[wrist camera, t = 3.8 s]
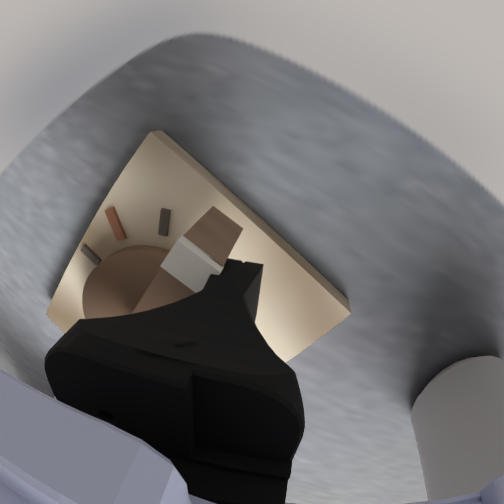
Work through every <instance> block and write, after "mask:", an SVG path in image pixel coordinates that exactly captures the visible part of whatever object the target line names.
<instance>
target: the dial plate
mask: <svg viewBox="0 0 504 504" xmlns="http://www.w3.org/2000/svg"><path fill="white" fill-rule="evenodd" d="M212 206H214V207H216V208H217V209H218V210H220V211H221V212H222V213H224V214H225V215H226V216H228V217H229V218H230V219H231V220H233V221H234V222H235V223H237V224H238V225H239V226H241V227H242V228H243V230H242V232H241V234H240V236H239V238H238V240H237V241H236V243H235V245H234V247H233V249H232V251H231V253H230V255H229V257H228V258H229V259H235V260H241V261H242V262H243V263H244V262H245V261H247V262H253V263H259V264H264V266H263V273H262V280H261V287H260V294H259V302H258V309H257V315H256V320H255V324H256V326H257V328H258V330H259V331H260V333H261V334H262V336H263V337H264V339H265V340H266V342H267V343H268V345H269V346H270V348H271V349H272V350H273V351H274V352H275V354H276V355H277V356H278V357H280V358H281V359H282V360H283V361H284V362H285V363H286V362H287V361H288V360H290V359H291V358H293V357H294V356H296V355H297V354H298V353H300V352H301V351H303V350H304V349H305V348H307V347H308V346H310V345H311V344H312V343H314V342H315V341H316V340H318V339H319V338H320V337H322V336H323V335H324V334H326V333H327V332H328V331H330V330H331V329H332V328H334V327H335V326H336V325H338V324H339V323H340V322H341V321H343V320H344V319H345V318H347V317H348V316H349V315H350V314H351V309H350V305H349V300H348V299H347V298H346V297H344V296H343V295H342V294H341V293H340V292H339V291H338V290H337V289H336V288H335V287H334V286H333V285H332V284H331V283H330V282H329V281H328V280H327V279H326V278H325V277H323V276H322V275H321V274H320V273H319V272H318V271H317V270H316V269H315V268H314V267H313V266H312V265H311V264H310V263H309V262H308V261H307V260H305V259H304V258H303V257H302V256H301V255H300V254H299V253H298V252H297V251H296V250H295V249H294V248H293V247H292V246H290V245H289V244H288V243H287V242H286V241H285V240H284V239H283V238H282V237H281V236H280V235H279V234H277V233H276V232H275V231H274V230H273V229H272V228H271V227H270V226H269V225H268V224H267V223H266V222H264V221H263V220H262V219H261V218H260V217H259V216H258V215H257V214H256V213H255V212H253V211H252V210H251V209H250V208H249V207H248V206H247V205H246V204H245V203H244V202H242V201H241V200H240V199H239V198H238V197H237V196H236V195H235V194H234V193H232V192H231V191H230V190H229V189H228V188H227V187H226V186H225V185H223V184H222V183H221V182H220V181H219V180H218V179H217V178H216V177H214V176H213V175H212V174H211V173H210V172H209V171H208V170H207V169H205V168H204V167H203V166H202V165H201V164H200V163H199V162H197V161H196V160H195V159H194V158H193V157H192V156H191V155H189V154H188V153H187V152H186V151H185V150H184V149H183V148H181V147H180V146H179V145H178V144H177V143H176V142H175V141H173V140H172V139H171V138H170V137H169V136H168V135H166V134H165V133H164V132H163V131H162V130H160V131H150V132H149V134H148V135H147V137H146V138H145V139H144V141H143V142H142V144H141V145H140V146H139V148H138V149H137V151H136V152H135V154H134V155H133V157H132V158H131V159H130V161H129V162H128V164H127V165H126V167H125V168H124V170H123V171H122V173H121V175H120V176H119V178H118V179H117V181H116V182H115V184H114V185H113V187H112V189H111V190H110V192H109V193H108V195H107V197H106V198H105V200H104V202H103V203H102V205H101V207H100V208H99V210H98V212H97V213H96V215H95V217H94V219H93V220H92V222H91V224H90V226H89V227H88V229H87V231H86V233H85V235H84V236H83V238H82V240H81V242H80V244H79V246H78V248H77V249H76V251H75V253H74V255H73V257H72V259H71V261H70V263H69V265H68V267H67V269H66V271H65V273H64V275H63V277H62V279H61V281H60V283H59V285H58V288H57V290H56V292H55V294H54V296H53V298H52V301H51V303H50V305H49V307H48V310H47V312H46V315H47V316H48V317H49V318H50V319H51V320H52V321H53V322H54V323H55V324H56V325H57V326H58V327H59V328H60V329H61V330H62V331H63V332H64V333H66V332H67V331H68V330H69V329H70V328H71V327H72V326H73V325H74V324H75V323H76V322H77V321H78V320H79V319H85V316H84V312H83V306H82V294H83V288H84V285H85V282H86V280H87V278H88V276H89V274H90V273H91V272H92V270H93V269H94V268H95V267H97V266H98V265H99V264H100V263H101V262H103V261H104V260H105V259H106V258H108V257H109V256H110V255H111V254H113V253H115V252H116V251H118V250H120V249H123V248H126V247H131V246H139V245H146V246H155V247H159V248H163V249H166V250H169V251H170V250H171V249H172V247H173V246H174V244H175V243H176V242H177V240H178V239H179V238H180V237H181V236H182V235H184V234H185V233H186V232H187V231H188V230H189V229H190V228H191V227H192V226H193V225H194V224H195V223H196V222H197V221H198V220H199V219H200V218H201V217H202V216H203V215H204V214H205V213H206V212H207V211H208V210H209V209H210V208H211V207H212Z"/></svg>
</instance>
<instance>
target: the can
mask: <svg viewBox="0 0 504 504" xmlns="http://www.w3.org/2000/svg"><path fill="white" fill-rule="evenodd" d="M411 421H412V425H413V429H414V433H415V437H416V441H417V446H418V450H419V455H420V459H421V464H422V469H423V474H424V479H425V485H426V490H427V496H428V501H432V500H439V499H445V498H451V497H456V496H462V495H467V494H471V493H476V492H480V491H481V490H482V489H483V488H484V487H485V486H486V485H487V484H488V483H489V482H491V481H492V480H493V479H495V478H497V477H499V476H500V475H503V474H504V362H503V361H502V359H500V358H497V357H494V356H480V357H471V358H466V359H464V360H461V361H458V362H455V363H454V364H452V365H450V366H448V367H447V368H445V369H443V370H442V371H441V372H440V373H439V374H437V375H436V376H435V377H434V378H432V380H431V381H430V382H429V383H428V385H427V386H426V387H425V388H424V390H423V391H422V392H421V394H420V395H419V396H418V397H417V399H416V401H415V403H414V405H413V407H412V413H411Z"/></svg>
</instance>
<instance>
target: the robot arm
mask: <svg viewBox="0 0 504 504" xmlns="http://www.w3.org/2000/svg"><path fill="white" fill-rule="evenodd" d="M263 266H264V264H259V263H253V262H247V261H245V262H244V263H243V262H242V261H241V260H235V259H229V258H227V260H226V262H225V264H224V268H223V269H222V271H221V273H220V274H219V275H215V274H210V276H209V278H208V280H207V282H206V284H205V286H204V288H203V290H201V291H199V292H197V293H195V294H193V295H191V296H189V297H186V298H184V299H181V300H179V301H176V302H174V303H171V304H167V305H164V306H161V307H158V308H154V309H151V310H147V311H143V312H138V313H133V314H127V315H122V316H114V317H104V318H91V319H79V320H78V321H77V322H76V323H75V324H74V325H73V326H72V327H71V328H70V329H69V330H68V331H67V332H66V333H65V334H64V335H63V336H62V337H61V338H60V339H59V340H58V342H57V343H56V344H55V345H54V346H53V347H52V348H51V349H50V350H49V351H48V353H47V355H46V357H45V371H46V375H47V378H48V381H49V384H50V386H51V388H52V391H53V393H54V395H55V396H54V398H52V397H50V396H48V395H46V394H44V393H42V392H40V391H38V390H37V389H35V388H33V387H31V386H29V385H27V384H26V383H24V382H22V381H20V380H19V379H17V378H15V377H13V376H12V375H10V374H8V373H7V372H5V371H4V370H2V369H0V504H294V503H285V499H286V491H287V483H288V479H289V478H290V474H291V467H292V459H293V457H294V455H295V453H296V451H297V448H298V446H299V444H300V442H301V439H302V437H303V433H304V428H305V418H304V408H303V402H302V397H301V393H300V388H299V385H298V381H297V377H296V374H295V372H294V371H293V370H292V369H291V368H290V367H289V366H288V365H287V364H286V363H285V362H284V361H283V360H282V359H281V358H280V357H278V356H277V355H276V354H275V352H274V351H273V350H272V349H271V348H270V346H269V345H268V343H267V342H266V340H265V339H264V337H263V336H262V334H261V333H260V331H259V330H258V328H257V326H256V324H255V320H256V315H257V309H258V302H259V294H260V287H261V280H262V273H263ZM407 504H504V474H503V475H500V476H499V477H497V478H495V479H493V480H492V481H491V482H489V483H488V484H487V485H486V486H485V487H484V488H483V489H482V490H481V491H480V492H476V493H471V494H467V495H462V496H456V497H451V498H445V499H439V500H432V501H425V502H417V503H407Z"/></svg>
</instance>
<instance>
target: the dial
mask: <svg viewBox="0 0 504 504" xmlns="http://www.w3.org/2000/svg"><path fill="white" fill-rule="evenodd" d="M242 230H243V228H242V227H241V226H239V225H238V224H237V223H235V222H234V221H233V220H231V219H230V218H229V217H228V216H226V215H225V214H224V213H222V212H221V211H220V210H218V209H217V208H216V207H214V206H212V207H211V208H210V209H209V210H208V211H207V212H206V213H205V214H204V215H203V216H202V217H201V218H200V219H199V220H198V221H197V222H196V223H195V224H194V225H193V226H192V227H191V228H190V229H189V230H188V231H187V232H186V233H185V234H184V235H182V236H181V237H180V238H179V239H178V240H177V242H176V243H175V244H174V246H173V247H172V249H171V250H170V251H169V250H166V249H163V248H159V247H155V246H146V245H139V246H131V247H126V248H123V249H120V250H118V251H116V252H115V253H113V254H111V255H110V256H109V257H108V258H106V259H105V260H104V261H103V262H101V263H100V264H99V265H98V266H97V267H95V268H94V269H93V270H92V272H91V273H90V274H89V276H88V278H87V280H86V282H85V285H84V288H83V294H82V306H83V312H84V316H85V319H91V318H104V317H114V316H122V315H127V314H133V313H138V312H143V311H147V310H151V309H154V308H158V307H161V306H164V305H167V304H171V303H174V302H176V301H179V300H181V299H184V298H186V297H189V296H191V295H193V294H195V293H197V292H199V291H201V290H203V288H204V286H205V284H206V282H207V280H208V278H209V276H210V274H215V275H219V274H220V273H221V271H222V269H223V268H224V264H225V262H226V260H227V258H228V257H229V255H230V253H231V251H232V249H233V247H234V245H235V243H236V241H237V240H238V238H239V236H240V234H241V232H242Z"/></svg>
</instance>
